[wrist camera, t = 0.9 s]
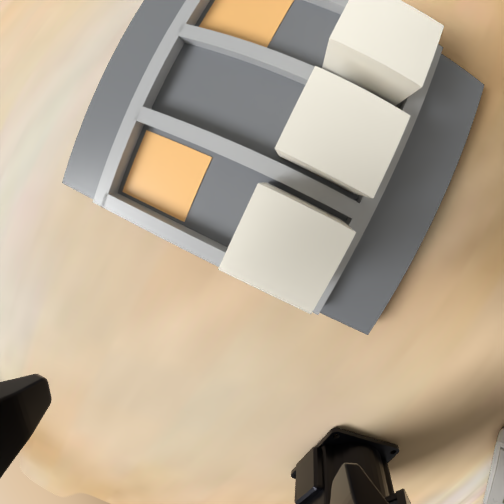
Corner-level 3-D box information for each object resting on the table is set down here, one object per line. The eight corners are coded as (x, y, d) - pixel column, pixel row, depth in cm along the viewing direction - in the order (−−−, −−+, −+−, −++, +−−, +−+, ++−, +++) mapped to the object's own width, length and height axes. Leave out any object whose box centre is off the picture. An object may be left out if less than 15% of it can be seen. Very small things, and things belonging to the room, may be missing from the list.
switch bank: (472, 90, 14) (492, 81, 11) (362, 323, 18) (371, 343, 15) (180, -30, 14) (167, -50, 12) (76, 181, 18) (51, 183, 16)
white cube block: (383, 130, 14) (410, 115, 10) (353, 193, 15) (373, 198, 11) (310, 92, 14) (315, 65, 10) (279, 156, 15) (274, 148, 11)
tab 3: (340, 219, 15) (356, 232, 11) (307, 282, 16) (310, 314, 12) (266, 182, 15) (257, 183, 11) (236, 247, 16) (218, 269, 12)
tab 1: (414, 55, 13) (443, 25, 9) (393, 107, 14) (422, 87, 10) (346, 19, 13) (359, -20, 9) (321, 70, 14) (329, 38, 10)
